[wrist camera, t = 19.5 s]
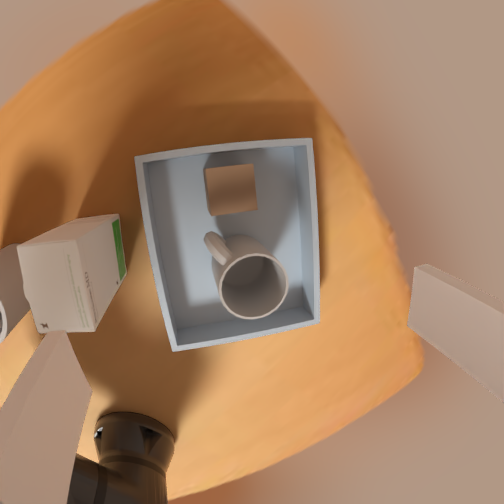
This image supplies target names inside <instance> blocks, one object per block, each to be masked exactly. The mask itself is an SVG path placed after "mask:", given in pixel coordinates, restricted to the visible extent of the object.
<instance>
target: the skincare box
mask: <svg viewBox="0 0 504 504" xmlns="http://www.w3.org/2000/svg"><path fill="white" fill-rule="evenodd" d="M17 251H18V257H19V262H20V268H21V272H22V277H23V282H24V284H23V289H24V294H25V297H26V299H27V300H28V302H29V304H30V308H31V311H32V315H33V318H34V321H35V324H36V328H37V331H38V333H47V332H50V331H60V330H66V333H69V332H95V331H96V328H97V327H98V325H99V323H100V321H101V319H102V317H103V315H104V314H105V312H106V310H107V308H108V306H109V304H110V303H111V301H112V299H113V297H114V295H115V294H116V292H117V290H118V288H119V287H120V285H121V283H122V282H123V280H124V278H125V277H126V275H127V269H126V263H125V255H124V248H123V241H122V234H121V225H120V216H119V214H108V215H100V216H92V217H85V218H78V219H75V220H72V221H70V222H67V223H65V224H63V225H61V226H58V227H56V228H54V229H52V230H50V231H47V232H45V233H43V234H41V235H39V236H37V237H35V238H32V239H30V240H28V241H26V242H24V243H22V244H20V245H18V246H17Z"/></svg>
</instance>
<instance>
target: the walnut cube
mask: <svg viewBox="0 0 504 504" xmlns="http://www.w3.org/2000/svg"><path fill="white" fill-rule="evenodd" d="M203 175H204V183H205V192H206V200H207V208H208V211H209V213H210V215H211V216H217V215H224V214H231V213H238V212H246V211H253V210H258V207H257V197H256V186H255V176H254V166H253V164H239V165H230V166H222V167H213V168H205V169H203Z"/></svg>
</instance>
